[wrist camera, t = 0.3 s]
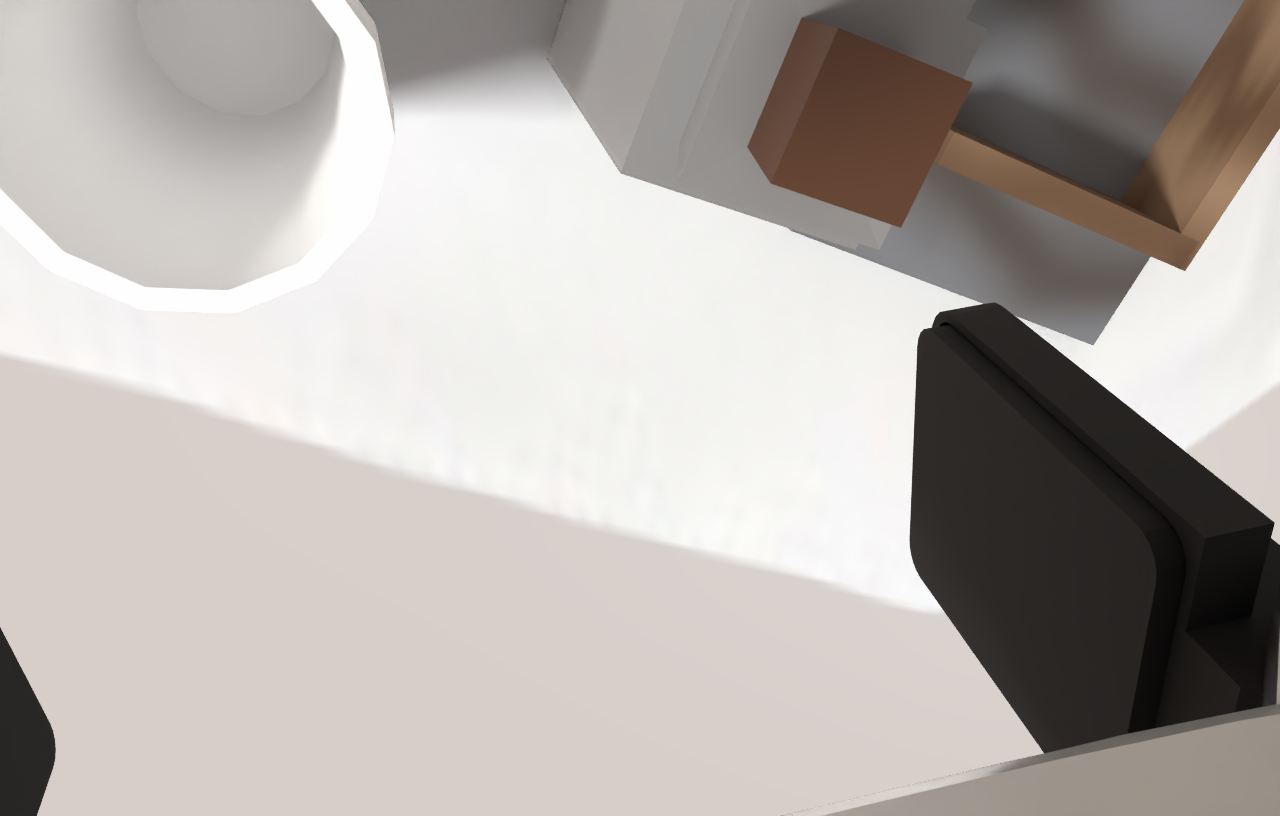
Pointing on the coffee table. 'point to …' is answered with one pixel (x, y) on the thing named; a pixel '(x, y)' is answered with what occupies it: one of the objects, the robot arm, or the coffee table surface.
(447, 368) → the coffee table surface
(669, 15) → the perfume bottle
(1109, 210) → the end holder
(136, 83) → the foam cup
